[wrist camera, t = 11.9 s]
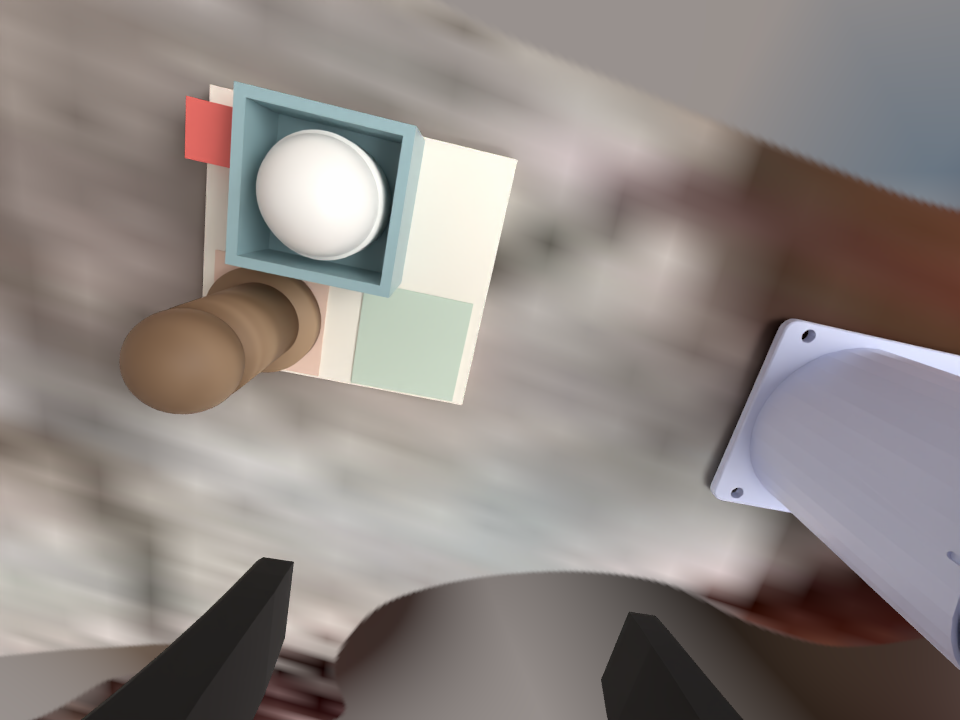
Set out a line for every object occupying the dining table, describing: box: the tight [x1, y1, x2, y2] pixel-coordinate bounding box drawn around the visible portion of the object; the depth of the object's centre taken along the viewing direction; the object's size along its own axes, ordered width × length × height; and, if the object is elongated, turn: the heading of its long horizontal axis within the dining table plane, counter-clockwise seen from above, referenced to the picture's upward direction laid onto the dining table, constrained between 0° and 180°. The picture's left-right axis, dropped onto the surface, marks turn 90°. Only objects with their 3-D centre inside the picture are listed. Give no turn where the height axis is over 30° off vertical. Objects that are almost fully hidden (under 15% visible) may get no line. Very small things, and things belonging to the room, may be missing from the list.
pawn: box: [119, 267, 321, 414], centre depth 13 cm, size 4×4×6 cm
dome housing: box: [225, 81, 425, 298], centre depth 14 cm, size 5×5×3 cm
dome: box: [256, 130, 391, 260], centre depth 13 cm, size 3×3×3 cm
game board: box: [185, 84, 517, 405], centre depth 15 cm, size 10×9×2 cm
